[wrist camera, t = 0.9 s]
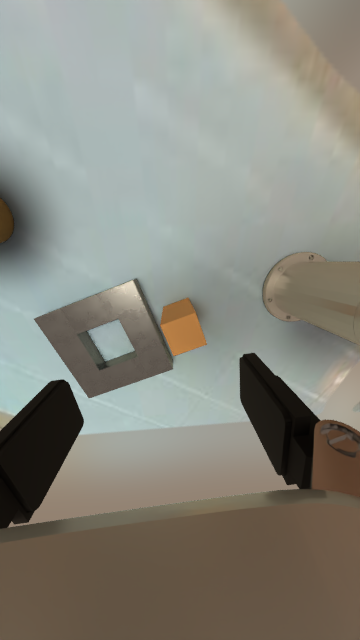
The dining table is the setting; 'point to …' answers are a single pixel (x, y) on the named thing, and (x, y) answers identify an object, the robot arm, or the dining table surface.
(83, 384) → the grey square frame
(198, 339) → the orange rectangular block
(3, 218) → the plant pot
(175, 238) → the dining table surface
